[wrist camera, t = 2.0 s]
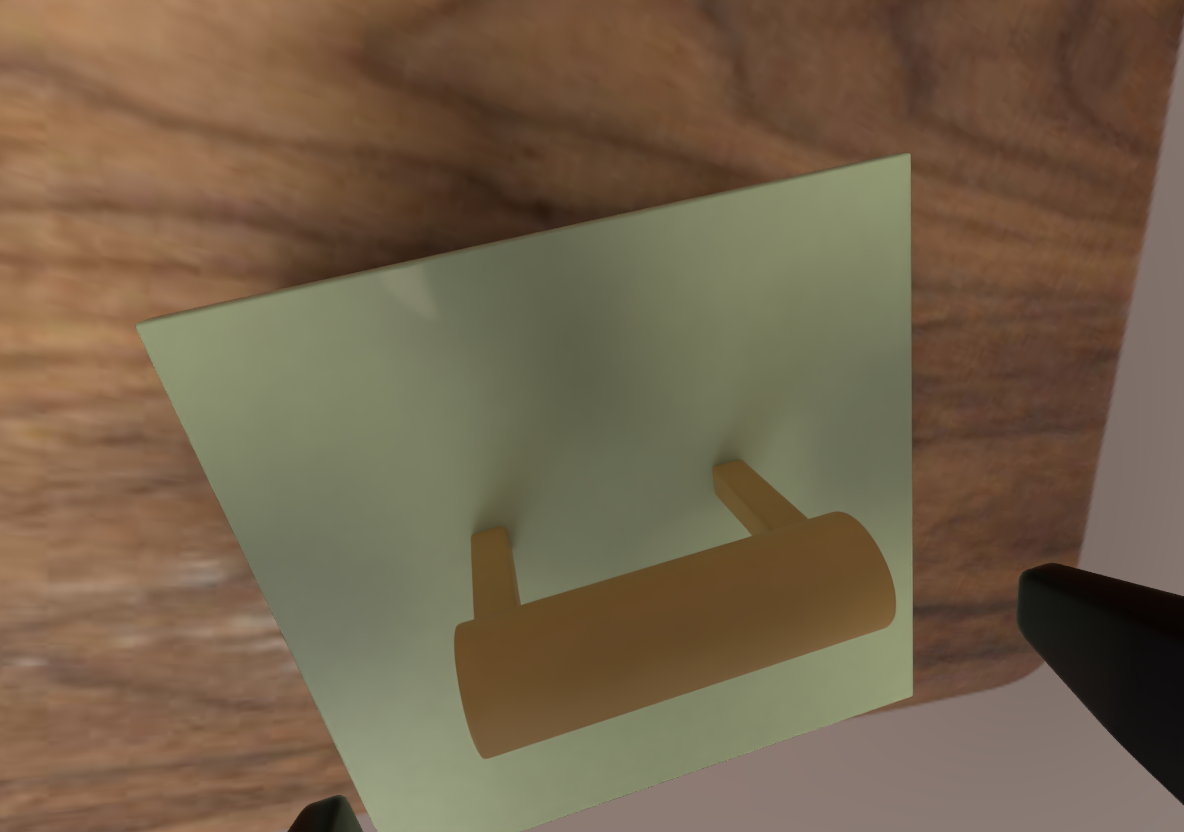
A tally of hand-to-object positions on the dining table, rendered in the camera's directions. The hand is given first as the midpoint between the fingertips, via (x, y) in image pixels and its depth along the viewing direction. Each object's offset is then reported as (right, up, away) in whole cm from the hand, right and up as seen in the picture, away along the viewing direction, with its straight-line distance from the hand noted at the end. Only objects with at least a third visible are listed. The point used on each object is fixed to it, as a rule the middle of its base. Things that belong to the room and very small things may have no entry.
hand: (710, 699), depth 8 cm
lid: (-1, +1, +6) cm, 6 cm away
